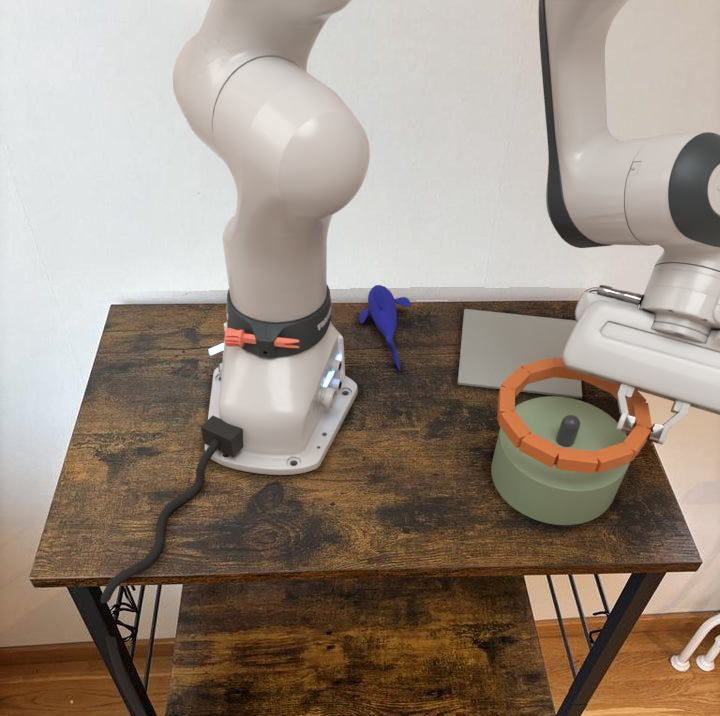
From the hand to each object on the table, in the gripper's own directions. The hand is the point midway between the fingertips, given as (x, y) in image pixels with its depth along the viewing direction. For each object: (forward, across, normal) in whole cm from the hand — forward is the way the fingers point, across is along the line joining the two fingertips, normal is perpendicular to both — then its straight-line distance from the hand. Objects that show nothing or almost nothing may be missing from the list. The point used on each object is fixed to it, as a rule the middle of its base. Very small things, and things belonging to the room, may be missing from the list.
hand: (638, 437), depth 75 cm
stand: (+7, -7, +8) cm, 13 cm away
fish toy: (-4, -34, +19) cm, 39 cm away
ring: (0, -7, +1) cm, 7 cm away
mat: (-7, -17, +22) cm, 29 cm away
